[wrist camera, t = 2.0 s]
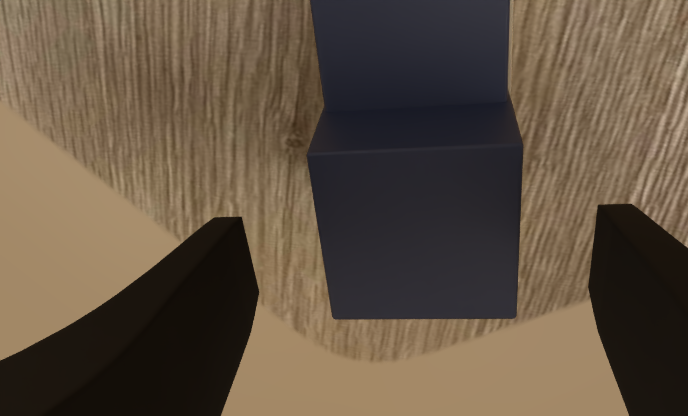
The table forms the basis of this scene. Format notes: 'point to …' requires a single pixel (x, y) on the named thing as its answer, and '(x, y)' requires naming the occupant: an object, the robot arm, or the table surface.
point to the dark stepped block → (417, 158)
